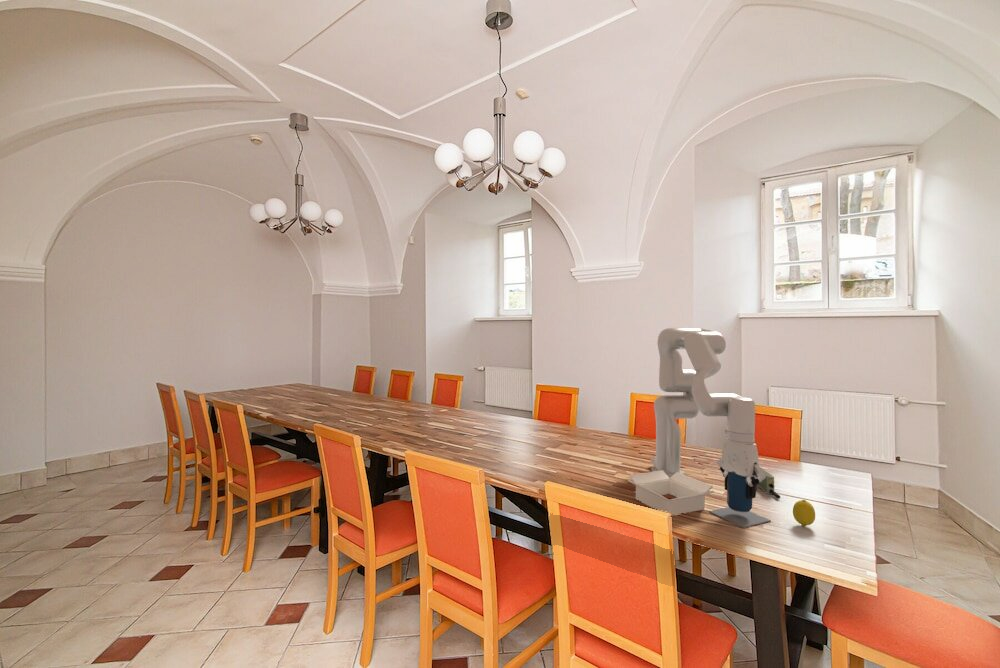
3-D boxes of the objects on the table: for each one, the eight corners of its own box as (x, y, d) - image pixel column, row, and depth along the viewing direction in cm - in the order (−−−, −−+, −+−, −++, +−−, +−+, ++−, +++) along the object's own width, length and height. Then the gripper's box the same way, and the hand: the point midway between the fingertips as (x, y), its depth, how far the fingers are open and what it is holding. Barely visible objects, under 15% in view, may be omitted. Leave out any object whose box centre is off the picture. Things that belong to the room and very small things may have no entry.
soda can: (757, 512, 133) (758, 473, 133) (737, 513, 132) (737, 474, 132) (741, 503, 140) (742, 466, 140) (721, 504, 139) (722, 467, 139)
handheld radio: (753, 477, 175) (784, 501, 150) (744, 476, 176) (773, 500, 151) (753, 460, 175) (783, 481, 150) (744, 460, 176) (773, 481, 151)
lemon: (788, 522, 133) (788, 496, 132) (805, 522, 133) (805, 496, 133) (802, 531, 127) (802, 503, 127) (819, 530, 128) (820, 503, 127)
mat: (709, 512, 139) (709, 511, 139) (735, 506, 144) (735, 505, 144) (743, 528, 128) (743, 526, 128) (770, 521, 133) (770, 520, 133)
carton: (620, 496, 152) (620, 476, 152) (669, 488, 160) (669, 468, 160) (668, 523, 131) (669, 499, 131) (721, 511, 140) (722, 489, 140)
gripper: (708, 431, 143) (707, 486, 143) (758, 445, 127) (757, 506, 127) (725, 430, 146) (724, 483, 146) (775, 442, 130) (774, 502, 130)
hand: (739, 493), depth 136 cm, fingers closed on soda can, 7 cm apart
